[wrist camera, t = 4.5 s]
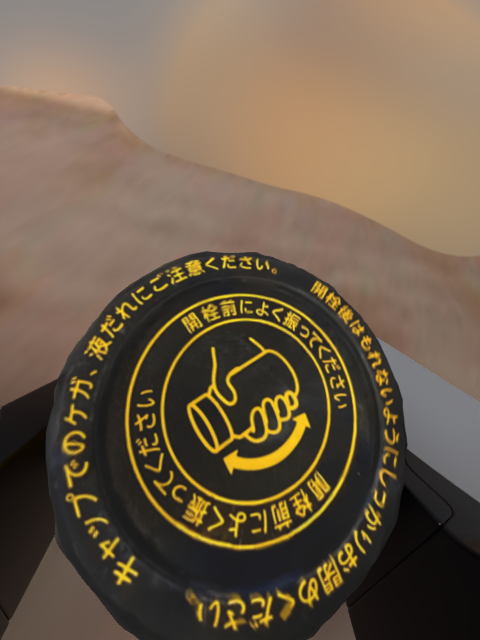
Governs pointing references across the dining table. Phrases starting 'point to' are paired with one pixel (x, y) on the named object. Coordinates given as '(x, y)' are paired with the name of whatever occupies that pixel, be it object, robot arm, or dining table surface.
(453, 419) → the board
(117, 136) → the dining table surface
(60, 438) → the condiment
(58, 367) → the dining table surface
